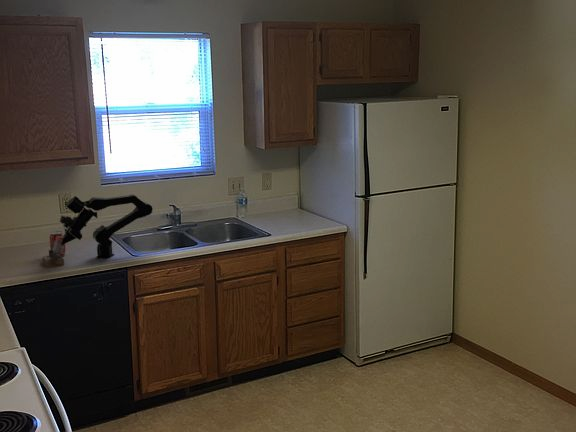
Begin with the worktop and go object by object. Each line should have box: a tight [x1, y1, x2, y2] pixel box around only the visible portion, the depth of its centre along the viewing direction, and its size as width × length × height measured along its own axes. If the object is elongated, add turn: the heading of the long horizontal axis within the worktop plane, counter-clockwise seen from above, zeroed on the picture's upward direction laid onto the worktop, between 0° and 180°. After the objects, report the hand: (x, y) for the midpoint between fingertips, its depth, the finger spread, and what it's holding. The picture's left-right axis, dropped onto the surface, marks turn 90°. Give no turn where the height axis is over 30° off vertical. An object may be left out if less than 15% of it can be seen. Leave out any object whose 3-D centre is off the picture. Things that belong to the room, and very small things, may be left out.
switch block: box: [42, 249, 65, 268], centre depth 309 cm, size 8×10×6 cm
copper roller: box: [51, 236, 63, 255], centre depth 309 cm, size 2×6×10 cm, turn 29°
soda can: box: [49, 230, 67, 257], centre depth 322 cm, size 7×7×12 cm
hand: (61, 244), depth 310 cm, fingers closed, pressing on copper roller
